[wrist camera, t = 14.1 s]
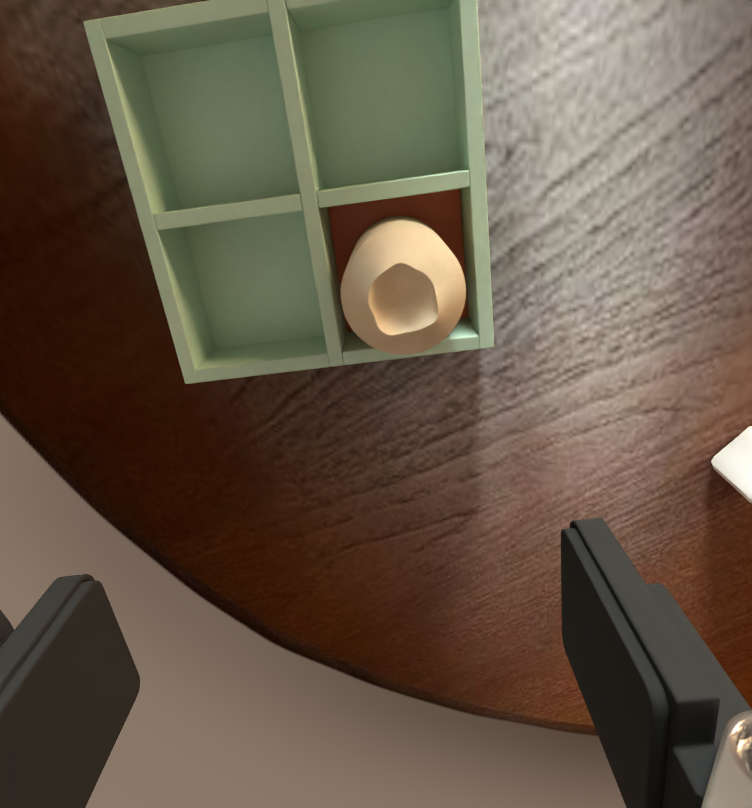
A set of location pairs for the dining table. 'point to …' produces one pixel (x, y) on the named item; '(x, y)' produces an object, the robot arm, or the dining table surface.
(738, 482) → the salt shaker
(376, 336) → the candle
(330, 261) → the grid
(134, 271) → the dining table surface
